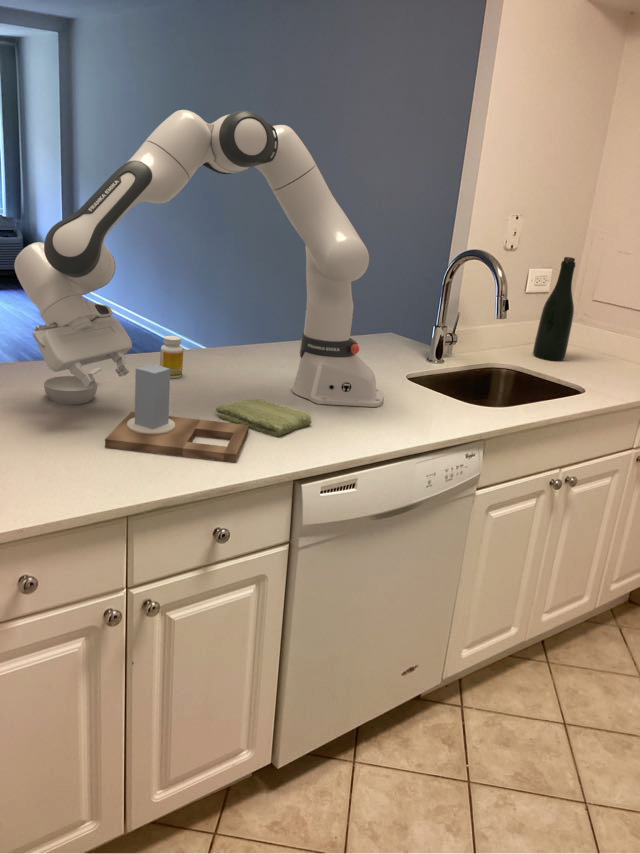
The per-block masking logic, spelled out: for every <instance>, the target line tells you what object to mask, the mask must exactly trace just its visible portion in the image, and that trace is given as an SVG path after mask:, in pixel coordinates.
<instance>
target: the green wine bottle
mask: <svg viewBox="0 0 640 854" xmlns="http://www.w3.org/2000/svg"><path fill="white" fill-rule="evenodd" d="M575 260H576V258H574V257H570V256H565V257H563V260H562V261H561V262H560V270H559V273H558V277H557V281H556V284H555V286H554V288H553V289H552V291H551V293H550V294H549V296H548V298H547V300H546V301H545V303H544V305H543V308H542V310H541V314H540V319H539V323H538V328H537V332H536V335H535V341H534V345H533V351H532V355H533V356H535V357H536V358H538V357H539V358H538V359H541V358H543V359H542V360H546V359H547V361H552V360H558V361H557V362H559V360H561V361H563V360H565V358H566V354H567V351H568V345H569V341H570V336H571V332H572V331H571V330H572V327H573V326H572V325H573V321H574V319H573V318H574V314H575V305H574V298H573V292H572V291H573V290H572V289H573V288H572V286H573V279H574V274H575V273H574V271H575V268H576V262H575Z"/></svg>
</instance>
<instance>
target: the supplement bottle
mask: <svg viewBox="0 0 640 854" xmlns="http://www.w3.org/2000/svg"><path fill="white" fill-rule="evenodd" d="M181 343H182V338H181V337H180V336H177V335H167V336H166V335H165V336H164V337H163V345H161V347H160V361H159V366H161V367H165V368H169V369H170V379H172V378H174V379H179V378H181V377H182V376H183V364H184V362H183V361H184V348H183V346H181Z"/></svg>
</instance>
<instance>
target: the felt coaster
mask: <svg viewBox="0 0 640 854" xmlns="http://www.w3.org/2000/svg"><path fill="white" fill-rule="evenodd" d="M127 427H128V429H129V430H131V431H133V432H135V433H139V434H145V435H160V434H166V433H169V432H171V431H173V430H174V429H175V422H174V421H172V420H171V419H169V421H168V424H166V425H163V426H161V427H158V428H156V429H150V428H147V427H144V426H141V425H137V424H135V418H132V419H130V420H129V421H128V422H127Z"/></svg>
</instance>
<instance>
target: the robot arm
mask: <svg viewBox="0 0 640 854" xmlns="http://www.w3.org/2000/svg"><path fill="white" fill-rule="evenodd" d="M202 166H204V167H206V168H208V169H209V170H210V171H213V172H215V173H218V174H222V175H230V174H235V173H242V172H244V171H246V170H248V169H249V168H252V167H253V168H256V169H257V170H258V171H259V172H260V173H261V174H262V175H263V176H264V178H265V179H266V182H267V183H268V186H269V187H270V189H271V191H272V192H273V194H274V196H275V198H276V200H277V201H278V203H279V205H280V207H281V209H282V210H283V212H284V214H285V216H286V217H287V220H288V221H289V222H290V224H291V225H292V226H293V228H294V229H295V231H296V232H297V234H298V235H299V236H300V238H301V240H302V241H303V242H304V244H305V268H306V269H305V276H306V277H305V278H306V280H305V281H306V282H305V283H306V285H305V286H306V305H305V306H306V307H305V308H306V309H305V319H304V330H303V333H302V335H301V338H300V343H299V344H300V345H299V346H300V347H299V357H300V358H299V359H300V360H299V364H298V369H297V371H296V376H295V379H294V382H293V385H292V387H291V392H292V393H294V394H295V395H297V396H299V397H302V398H305V399H307V400H310V401H311V402H312V403H314V404H316V405H317V404H318V405H334V406H351V407H352V406H354V407H369V408H371V407H372V408H376V407H379V406H381V405H383V403H384V393H383V392H382V391H381V390H380V389H378V388H377V381H376V376H375V373H374V371H373V370H372V369H371V367H370V366H369V365H367V363H365V361H363V359H361V358H360V356H358V355H357V354H358V353H359V352H360V345H358V344H359V343H358V342H357V340H356V339H353V338H352V337H351V332H352V330H351V329H352V324H353V314H354V301H353V295H352V292H353V291H352V282H354V281H357V280H358V279H360V278H361V277H362V276H363V275H364V274H365V273H366V271H367V269H368V267H369V264H370V255H369V251H368V248H367V247H366V245H365V243H364V242H363V240H362V238H361V237H360V235H359V234H358V232H357V231H356V229H355V227H354V225H353V224H352V223H351V221H350V219H349V218H348V217H347V214H346V213H345V212H344V210H343V209H342V207H341V206H340V205H339V203H338V201H337V200H336V198H335V197H334V196H333V194H332V192H331V190H330V188H329V186H328V185H327V182H326V181H325V178H324V176H323V175H322V173H321V171H320V169H319V167H318V166H317V163H316V162H315V160H314V157H312V154H311V153H310V151H309V149H308V148H307V146H305V144H304V143H303V141H302V140H301V139H300V136H299V135H298V134H297V133H296V132H295V131H294V129H292V127H290V126H288V125H286V124H277V125H271V124H269V123H268V122H267V121H266V120H265V119H263V118H262V117H261V116H260V115H258V114H257V113H255V112H253V111H250V110H249V111H248V110H237V111H234V112H232V113H229V114H226V115H223V116H221V117H219V118H218V119H216V120H215V121H213V122H211V123H209V122H206V121H205V120H204V119H203V118H202V117H201V116H200V115H199V114H197V113H195V112H193V111H191V110H187V109H181V110H180V109H179V110H176V111H175V112H173V113H172V114H171V115H169V116H168V117H167V118H166V119H165V120H164V121H162V122H161V123H160V124H159V125H158V126H157V127H156V128H155V129H154V130H153V131H152V132H151V134H150V135H149V136H148V137H147V138H146V139H145V140H144V142H143V143H142V144H141V146H140V147H139V148H138V149H137V150H136V151H135V153H134V154H133V155H132V157H130V159H129V160H128V161H127V162H125V163H123V165H121V166H120V167H119V168H118V169H117V170H115V171H114V172H113V173H112V174H111V175H110V176H109V177H108V178H107V179H106V181H104V183H102V185H101V186H100V187H99V188H98V189H97V190H96V191H95V192H94V193H92V196H90V197H89V199H88V200H86V201H85V202H84V204H83V205H82V206H80V208H79V209H77V210H76V211H75V212H74V213H72V214H71V215H69V216H67V217H65V218H63V219H62V220H60V221H58V222H56V223H55V224H54V225H53V226H52V227H51V228H50V229H49V231H47V233H46V236H45V238H44V242H41V241H40V242H37V241H36V242H33V243H31V244H28V245H26V246H25V247H24V248H23V249H22V250H20V252H19V253H18V254H17V255H16V258H15V260H14V263H13V264H14V271H15V274H16V277H17V280H18V281H19V283H20V285H21V287H22V288H23V290H24V292H25V294H26V296H27V297H28V299H29V300H30V301H31V303H33V304H34V305H35V306H36V307H37V309H38V312H39V314H40V317H41V319H42V320H43V322H44V324H43V325H42V324H41V325H40V324H39V325H36V326H35V327H34V329H33V331H32V337H33V339H34V341H35V342H36V343H37V347H38V350H39V352H40V355H41V356H42V359H43V360H44V363H45V364H46V365H47V367H48V369H49V370H51V371H53V372H54V373H57V372H62V371H66V370H68V372H70V374H71V375H72V376H76V377H77V378H79V379H81V381H82V382H83V384H84V385H85V386H89V385H92V384H93V383H94V382H95V381H96V378H95V377H94V375H92V374H91V373H90V374H88V373H89V372H87V371H85V370H84V369H83V368H82V366H86V365H91V364H93V363H98V362H99V363H100V362H102V361H108V360H111V359H112V362H113V363H116V367H117V368H116V369H115V372H116V374H117V375H118V377H125V376H126V375H128V374H129V373H130V370H129V368H128V367H127V365H126V356H125V355H126V354H128V352H129V351H130V350H131V349H132V348H133V342H132V340H131V338H130V336H129V334H128V332H127V331H126V330H125V328H124V326H123V325H122V324H121V322H120V321H119V320H118V319H117V318H115V317H113V315H114V312H113V310H112V308H111V307H110V306H109V305H105V304H99V303H96V302H92V301H89V300H86V299H85V298H84V296H83V295H87V294H89V293H92V292H94V291H97V290H99V289H102V288H103V287H105V286H107V285H108V284H109V283H110V282H111V280H112V279H113V278H114V276H115V273H116V272H115V271H116V262H115V258H114V256H113V254H112V253H111V252H110V250H109V249H108V248H107V246H106V245H105V239H106V236H107V235H108V233H109V232H110V231H111V230H112V229H113V228H114V227H115V226H116V224H117V223H118V222H120V220H121V219H123V217H124V216H125V214H126V213H128V211H129V210H130V209H131V208H133V207H134V206H136V205H137V204H140V203H143V202H148V203H151V204H164V203H168V202H170V201H171V200H172V199H173V198H175V197H176V196H177V195H178V194H179V193H180V192H181V191H182V190H183V189H184V187H185V186H186V185H187V184H188V182H190V180H191V179H192V177H193V176H194V174H195V173H196V171H197V170H198V169H199V168H201V167H202Z"/></svg>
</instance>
